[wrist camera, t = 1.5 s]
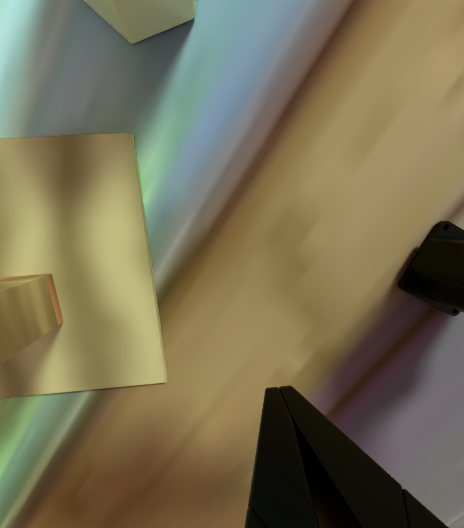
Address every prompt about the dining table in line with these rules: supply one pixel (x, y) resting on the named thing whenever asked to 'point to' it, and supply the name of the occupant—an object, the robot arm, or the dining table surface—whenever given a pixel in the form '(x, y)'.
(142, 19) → the jar
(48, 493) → the dining table surface
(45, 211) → the board
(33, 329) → the block
